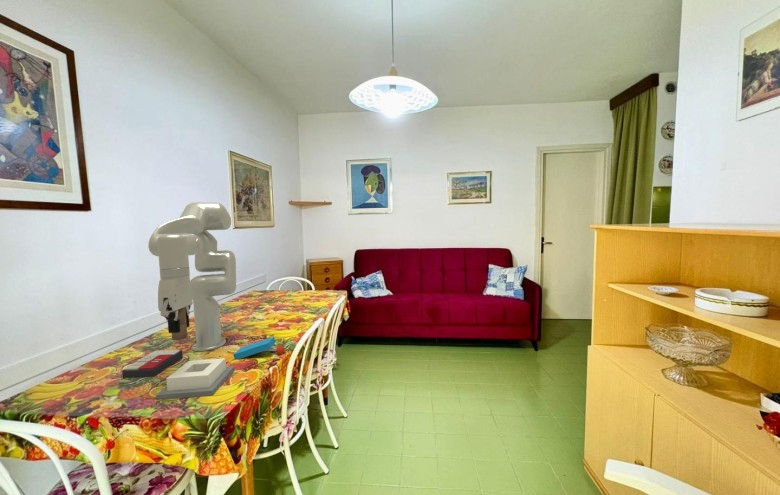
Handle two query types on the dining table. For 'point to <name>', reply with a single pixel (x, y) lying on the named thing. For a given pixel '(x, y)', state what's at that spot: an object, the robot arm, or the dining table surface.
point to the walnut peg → (181, 325)
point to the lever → (258, 348)
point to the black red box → (152, 364)
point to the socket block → (196, 379)
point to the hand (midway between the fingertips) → (179, 329)
